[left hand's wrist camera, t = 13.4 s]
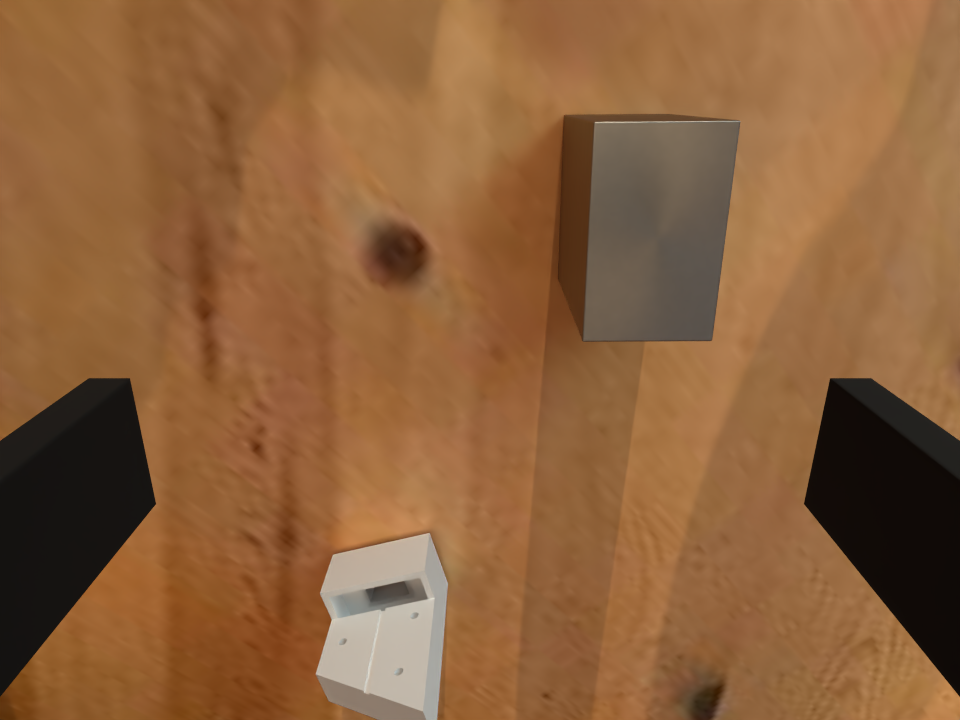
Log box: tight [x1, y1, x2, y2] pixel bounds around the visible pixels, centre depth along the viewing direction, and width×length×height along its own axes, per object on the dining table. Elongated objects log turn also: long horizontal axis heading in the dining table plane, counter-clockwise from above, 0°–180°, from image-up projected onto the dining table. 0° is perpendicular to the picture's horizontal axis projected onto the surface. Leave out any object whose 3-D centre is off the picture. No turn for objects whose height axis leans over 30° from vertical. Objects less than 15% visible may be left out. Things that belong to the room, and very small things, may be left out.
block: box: [558, 114, 740, 342], centre depth 26 cm, size 7×5×9 cm, turn 0°
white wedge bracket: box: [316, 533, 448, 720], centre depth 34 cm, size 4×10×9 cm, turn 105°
